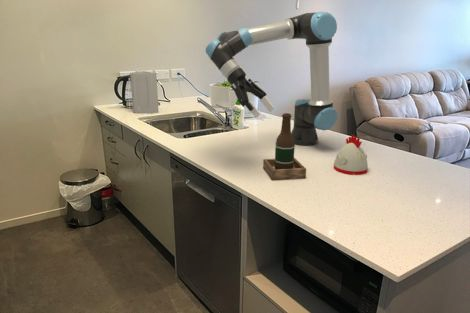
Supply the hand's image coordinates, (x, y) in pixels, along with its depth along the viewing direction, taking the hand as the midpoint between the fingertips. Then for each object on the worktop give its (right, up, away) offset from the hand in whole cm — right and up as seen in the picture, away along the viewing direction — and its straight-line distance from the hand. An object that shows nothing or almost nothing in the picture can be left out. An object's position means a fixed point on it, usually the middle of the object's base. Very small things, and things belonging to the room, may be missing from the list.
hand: (265, 113), depth 147 cm
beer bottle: (+8, -24, +3) cm, 25 cm away
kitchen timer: (+37, -23, +9) cm, 45 cm away
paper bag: (-80, +15, +117) cm, 142 cm away
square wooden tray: (+8, -25, +4) cm, 26 cm away
